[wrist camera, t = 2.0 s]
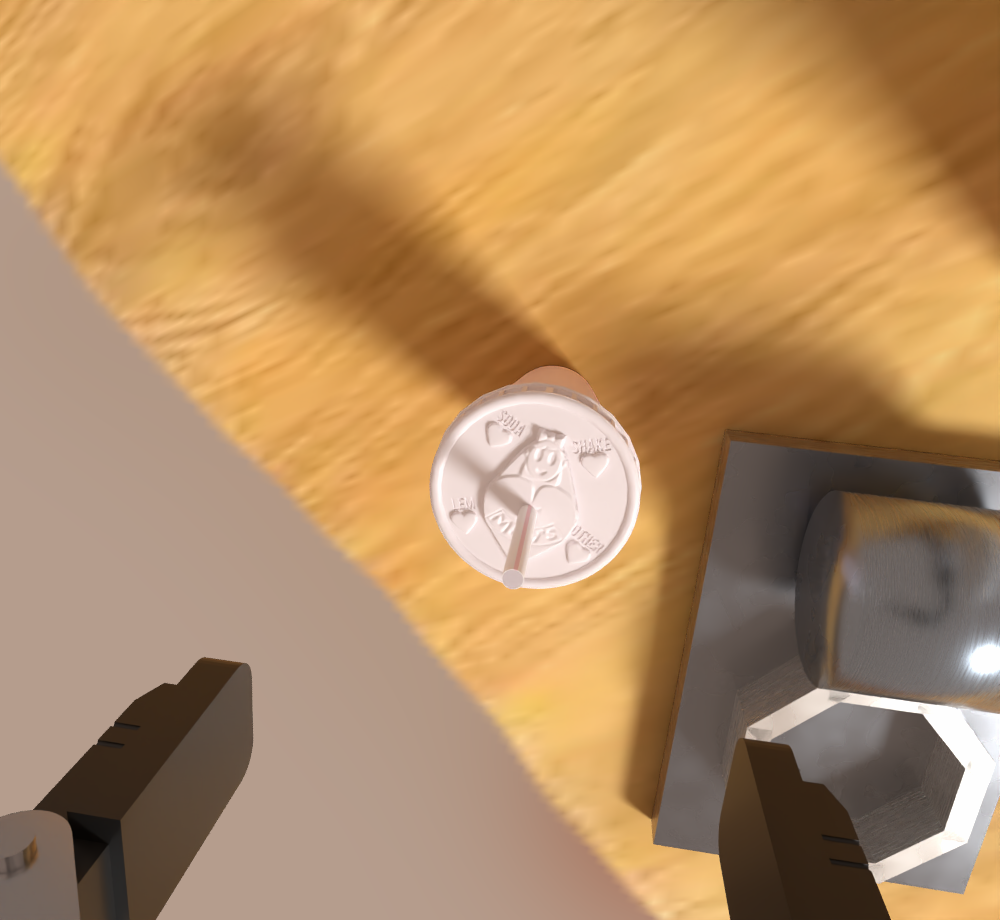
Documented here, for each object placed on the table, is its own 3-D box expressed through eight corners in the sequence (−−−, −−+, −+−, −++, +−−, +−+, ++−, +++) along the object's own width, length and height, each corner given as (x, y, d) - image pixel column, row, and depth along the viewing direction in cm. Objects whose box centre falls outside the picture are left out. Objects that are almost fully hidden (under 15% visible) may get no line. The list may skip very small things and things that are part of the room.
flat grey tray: (724, 429, 32) (766, 509, 24) (1091, 471, 31) (1264, 571, 23) (651, 820, 38) (664, 985, 30) (949, 867, 37) (1044, 1052, 29)
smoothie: (459, 458, 34) (368, 631, 20) (496, 312, 31) (420, 401, 18) (604, 500, 33) (606, 701, 20) (652, 356, 31) (689, 477, 18)
